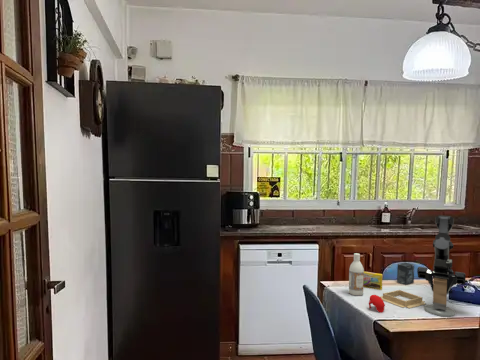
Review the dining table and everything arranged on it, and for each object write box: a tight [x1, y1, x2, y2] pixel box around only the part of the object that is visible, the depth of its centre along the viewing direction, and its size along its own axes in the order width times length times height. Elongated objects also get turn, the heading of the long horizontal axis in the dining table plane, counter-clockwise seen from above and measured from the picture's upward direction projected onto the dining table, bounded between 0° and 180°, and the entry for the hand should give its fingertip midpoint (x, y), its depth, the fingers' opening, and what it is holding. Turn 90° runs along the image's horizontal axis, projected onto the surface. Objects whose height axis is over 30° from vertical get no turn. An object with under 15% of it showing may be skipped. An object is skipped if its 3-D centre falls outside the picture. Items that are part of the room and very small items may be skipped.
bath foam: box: [348, 252, 365, 297], centre depth 178 cm, size 7×7×20 cm
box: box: [396, 262, 415, 286], centre depth 198 cm, size 8×6×11 cm
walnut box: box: [432, 277, 448, 310], centre depth 156 cm, size 5×5×12 cm
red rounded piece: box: [368, 294, 386, 314], centre depth 157 cm, size 8×6×6 cm
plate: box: [423, 303, 457, 318], centre depth 156 cm, size 12×12×1 cm
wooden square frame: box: [379, 289, 427, 309], centre depth 169 cm, size 16×16×2 cm
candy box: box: [363, 270, 383, 291], centre depth 189 cm, size 16×2×8 cm, turn 58°
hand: (439, 292), depth 155 cm, fingers closed on walnut box, 5 cm apart
